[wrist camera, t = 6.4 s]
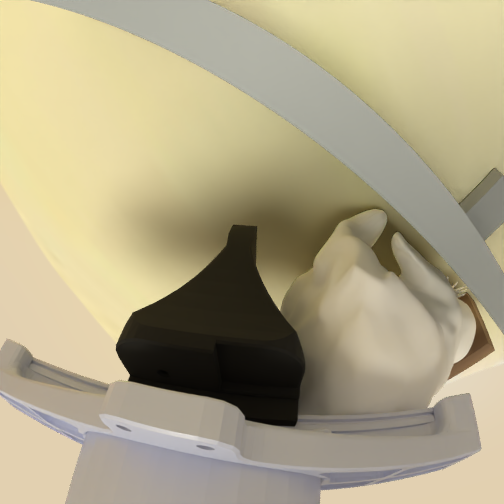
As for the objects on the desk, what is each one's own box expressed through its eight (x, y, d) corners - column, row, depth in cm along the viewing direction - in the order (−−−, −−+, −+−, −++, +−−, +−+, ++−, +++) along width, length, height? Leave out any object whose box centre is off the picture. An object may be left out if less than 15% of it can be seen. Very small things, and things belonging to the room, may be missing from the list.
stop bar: (474, 301, 15) (494, 350, 12) (367, 371, 21) (372, 416, 18) (466, 292, 15) (488, 342, 11) (355, 365, 20) (358, 412, 17)
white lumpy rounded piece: (386, 381, 5) (534, 379, 8) (317, 168, 11) (474, 260, 14) (249, 449, 8) (443, 435, 11) (252, 274, 15) (411, 322, 18)
